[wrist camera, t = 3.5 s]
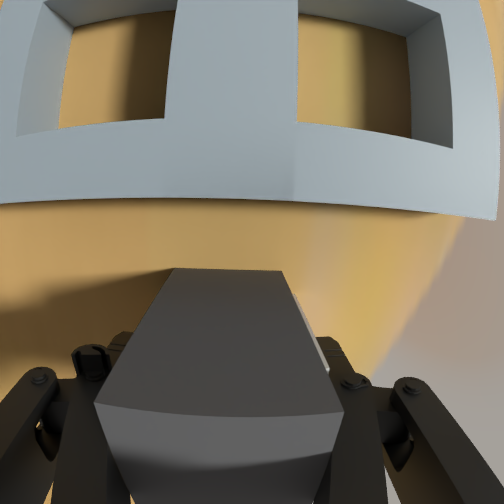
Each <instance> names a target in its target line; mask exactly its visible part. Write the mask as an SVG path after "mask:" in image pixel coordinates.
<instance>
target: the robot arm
mask: <svg viewBox="0 0 504 504" xmlns="http://www.w3.org/2000/svg"><path fill="white" fill-rule="evenodd" d="M292 295H293V297H294V299H295V301H296V304H297V306H298V308H299V310H300V312H301V315H302V317H303V319H304V321H305V324H306V326H307V328H308V330H309V332H310V335H311V337H312V339H313V341H314V344H315V346H316V348H317V350H318V353H319V355H320V357H321V359H322V362H323V364H324V366H325V368H326V371H327V373H328V375H329V378H330V380H331V382H332V384H333V387H334V389H335V391H336V394H337V396H338V398H339V400H340V403H341V405H342V407H343V410H344V415H343V418H342V421H341V425H340V428H339V431H338V434H337V437H336V440H335V443H334V446H333V449H332V452H331V455H330V458H329V461H328V464H327V467H326V469H325V472H324V475H323V477H322V480H321V483H320V485H319V488H318V490H317V493H316V495H315V498H314V501H313V504H388V497H387V487H386V477H385V468H386V470H387V472H388V475H389V477H390V479H391V481H392V484H393V486H394V488H395V491H396V493H397V495H398V498H399V500H400V502H401V504H504V487H503V486H502V484H501V483H500V481H499V480H498V478H497V477H496V475H495V474H494V473H493V471H492V470H491V468H490V467H489V466H488V464H487V463H486V461H485V460H484V459H483V457H482V456H481V454H480V453H479V452H478V450H477V449H476V447H475V446H474V445H473V443H472V442H471V441H470V439H469V438H468V437H467V435H466V434H465V433H464V431H463V430H462V429H461V427H460V426H459V425H458V423H457V422H456V421H455V419H454V418H453V417H452V415H451V414H450V413H449V412H448V410H447V409H446V408H445V406H444V405H443V404H442V402H441V401H440V400H439V399H438V397H437V396H436V395H435V393H434V392H433V391H432V390H431V389H430V387H429V386H428V385H427V384H426V383H425V382H424V381H421V380H419V379H417V378H414V377H403V378H400V379H398V380H397V381H396V382H395V384H394V387H393V388H382V387H374V386H372V385H371V382H370V380H369V379H368V378H366V377H365V376H363V375H361V374H359V373H355V371H354V370H353V368H352V366H351V364H350V363H349V361H348V359H347V357H346V356H345V354H344V352H343V351H342V349H341V347H340V345H339V343H338V342H337V341H335V340H334V339H333V338H331V337H315V335H314V333H313V331H312V329H311V327H310V325H309V323H308V321H307V318H306V316H305V314H304V312H303V310H302V308H301V306H300V304H299V301H298V299H297V297H296V295H295V294H292ZM133 333H134V332H124V331H123V332H121V333H120V334H118V335H116V336H115V337H114V338H113V340H112V341H111V343H110V345H109V346H108V347H107V348H106V347H104V346H101V345H96V344H90V345H84V346H81V347H79V348H77V349H75V350H74V351H73V353H72V354H71V356H72V360H73V363H74V367H75V371H76V374H77V376H76V378H73V379H57V376H56V373H55V372H54V371H53V370H52V369H50V368H48V367H36V368H33V369H31V370H29V371H28V372H26V373H25V374H24V375H23V376H22V378H21V379H20V380H19V381H18V382H17V383H16V385H15V386H14V387H13V388H12V389H11V390H10V392H9V393H8V394H7V395H6V396H5V398H4V399H3V400H2V401H1V403H0V504H43V503H44V501H45V499H46V496H47V494H48V492H49V490H50V487H51V485H52V483H53V489H52V497H51V504H131V500H130V492H129V490H128V488H127V486H126V484H125V482H124V480H123V477H122V475H121V473H120V471H119V469H118V466H117V464H116V462H115V459H114V457H113V454H112V452H111V449H110V447H109V444H108V442H107V439H106V437H105V434H104V431H103V429H102V426H101V423H100V420H99V417H98V414H97V411H96V408H95V405H94V401H95V399H96V397H97V395H98V393H99V392H100V390H101V388H102V386H103V385H104V383H105V381H106V379H107V377H108V376H109V374H110V372H111V370H112V369H113V367H114V365H115V363H116V362H117V360H118V358H119V357H120V355H121V353H122V352H123V350H124V348H125V346H126V345H127V343H128V341H129V340H130V338H131V336H132V335H133ZM38 422H40V424H39V426H38V427H37V428H36V425H37V424H38ZM384 466H385V468H384ZM53 481H54V482H53Z"/></svg>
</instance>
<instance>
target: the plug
mask: <svg viewBox="0 0 504 504" xmlns="http://www.w3.org/2000/svg"><path fill="white" fill-rule="evenodd" d="M94 405H95V408H96V411H97V414H98V417H99V420H100V423H101V426H102V429H103V431H104V434H105V437H106V439H107V442H108V444H109V447H110V449H111V452H112V454H113V457H114V459H115V462H116V464H117V466H118V469H119V471H120V473H121V475H122V477H123V480H124V482H125V484H126V486H127V488H128V490H129V492H130V494H131V496H132V498H133V500H134V502H135V504H312V503H313V500H314V498H315V495H316V493H317V490H318V488H319V485H320V483H321V480H322V477H323V475H324V472H325V469H326V467H327V464H328V461H329V458H330V455H331V452H332V449H333V446H334V443H335V440H336V437H337V434H338V431H339V428H340V425H341V421H342V418H343V415H344V410H343V407H342V405H341V403H340V400H339V398H338V396H337V394H336V391H335V389H334V387H333V384H332V382H331V380H330V378H329V375H328V373H327V371H326V368H325V366H324V364H323V362H322V359H321V357H320V355H319V353H318V350H317V348H316V346H315V344H314V341H313V339H312V337H311V335H310V332H309V330H308V328H307V326H306V324H305V321H304V319H303V317H302V315H301V312H300V310H299V308H298V306H297V304H296V301H295V299H294V297H293V295H292V293H291V290H290V288H289V286H288V284H287V282H286V280H285V277H284V275H283V273H282V271H263V270H224V269H192V268H174V269H173V271H172V272H171V274H170V275H169V277H168V278H167V280H166V282H165V283H164V285H163V286H162V288H161V289H160V291H159V293H158V294H157V296H156V297H155V299H154V301H153V302H152V304H151V305H150V307H149V309H148V310H147V312H146V313H145V315H144V317H143V318H142V320H141V322H140V323H139V325H138V326H137V328H136V330H135V331H134V333H133V335H132V336H131V338H130V340H129V341H128V343H127V345H126V346H125V348H124V350H123V352H122V353H121V355H120V357H119V358H118V360H117V362H116V363H115V365H114V367H113V369H112V370H111V372H110V374H109V376H108V377H107V379H106V381H105V383H104V385H103V386H102V388H101V390H100V392H99V393H98V395H97V397H96V399H95V401H94Z"/></svg>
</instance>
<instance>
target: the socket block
mask: <svg viewBox="0 0 504 504" xmlns="http://www.w3.org/2000/svg"><path fill="white" fill-rule="evenodd" d="M170 10H176V15H175V22H174V29H173V36H172V44H171V52H170V61H169V70H168V80H167V91H166V104H165V118H164V119H145V120H130V121H119V122H108V123H99V124H90V125H82V126H75V127H68V128H62V129H58V125H59V114H60V104H61V96H62V89H63V82H64V75H65V69H66V63H67V58H68V53H69V48H70V43H71V39H72V34H73V30H74V27H77V26H81V25H85V24H89V23H94V22H98V21H103V20H108V19H113V18H118V17H124V16H130V15H136V14H143V13H151V12H160V11H170ZM298 13H301V14H309V15H315V16H321V17H327V18H333V19H338V20H343V21H348V22H352V23H357V24H361V25H365V26H369V27H373V28H377V29H380V30H384V31H387V32H391V33H394V34H397V35H401V36H404V37H406V41H407V50H408V60H409V73H410V90H411V139H409V138H404V137H399V136H394V135H389V134H384V133H378V132H372V131H366V130H360V129H353V128H346V127H339V126H331V125H323V124H314V123H305V122H297V86H298ZM499 172H500V129H499V111H498V99H497V89H496V81H495V73H494V67H493V61H492V55H491V49H490V44H489V40H488V35H487V31H486V26H485V22H484V18H483V15H482V11H481V7H480V4H479V1H478V0H4V2H3V4H2V7H1V10H0V204H2V203H15V202H30V201H47V200H67V199H95V198H159V197H165V198H232V199H261V200H284V201H303V202H319V203H334V204H348V205H361V206H372V207H384V208H394V209H405V210H414V211H423V212H432V213H441V214H449V215H457V216H465V217H472V218H480V219H487V220H494V221H496V214H497V204H498V191H499Z"/></svg>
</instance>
